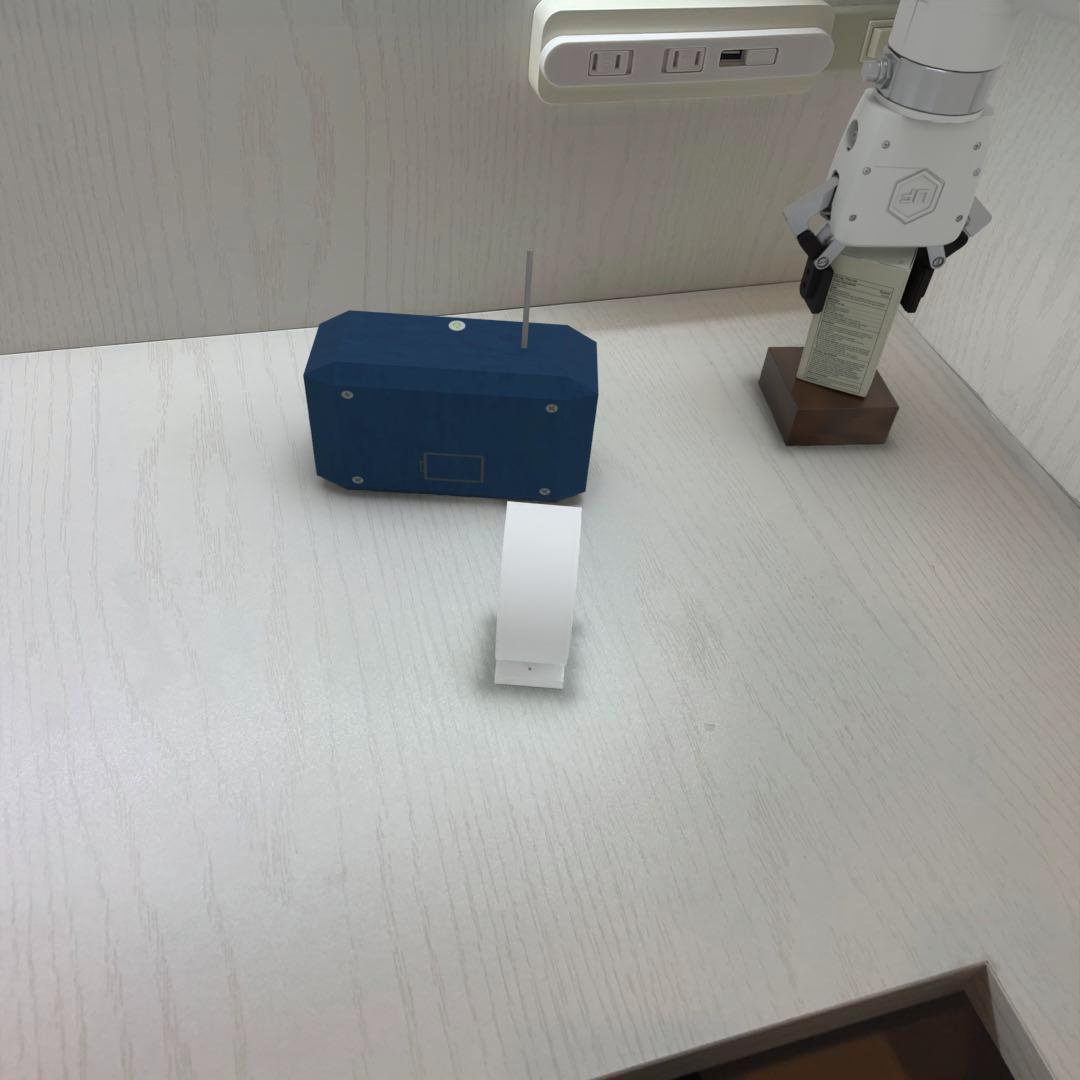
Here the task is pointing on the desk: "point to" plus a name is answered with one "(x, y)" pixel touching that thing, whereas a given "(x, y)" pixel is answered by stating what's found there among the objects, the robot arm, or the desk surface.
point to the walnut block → (823, 405)
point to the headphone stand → (537, 594)
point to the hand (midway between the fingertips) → (857, 303)
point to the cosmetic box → (856, 317)
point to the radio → (453, 405)
